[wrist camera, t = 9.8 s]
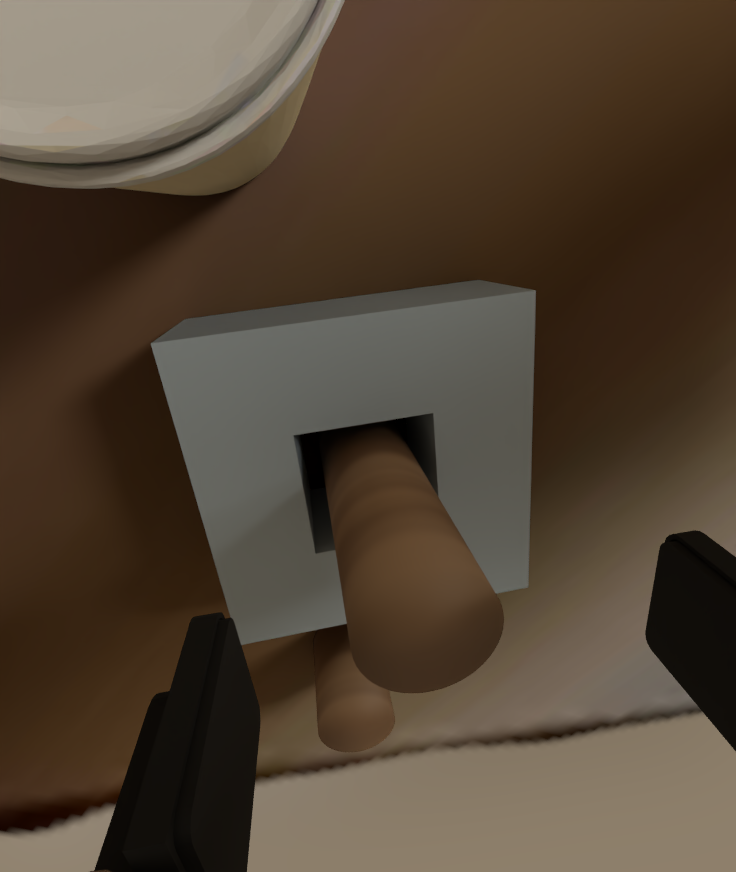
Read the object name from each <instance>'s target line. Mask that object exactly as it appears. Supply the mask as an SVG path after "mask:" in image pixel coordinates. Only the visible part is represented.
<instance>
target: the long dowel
mask: <svg viewBox="0 0 736 872" xmlns="http://www.w3.org/2000/svg"><path fill="white" fill-rule="evenodd" d="M318 440H319V447H320V454H321V460H322V467H323V473H324V480H325V486H326V493H327V499H328V506H329V512H330V518H331V525H332V531H333V538H334V544H335V551H336V557H337V564H338V570H339V577H340V583H341V590H342V596H343V603H344V609H345V616H346V622H347V628H348V635H349V641H350V648H351V653H352V657H353V660H354V662H355V664H356V666H357V668H358V669H359V671H360V672H361V673H362V674H363V675H364V676H365V677H366V678H367V679H368V680H369V681H371V682H372V683H374V684H376V685H378V686H379V687H382V688H384V689H387V690H391V691H395V692H401V693H423V692H429V691H434V690H438V689H442V688H445V687H447V686H450V685H452V684H455V683H457V682H459V681H461V680H462V679H464V678H466V677H467V676H469V675H470V674H472V673H473V672H474V671H476V670H477V669H478V668H479V667H480V666H481V665H483V663H484V662H485V661H486V660H487V659H488V658H489V657H490V655H491V654H492V653H493V651H494V650H495V648H496V646H497V644H498V642H499V640H500V637H501V634H502V630H503V623H504V616H503V609H502V605H501V603H500V601H499V598H498V597H497V595H496V593H495V592H494V590H493V588H492V586H491V585H490V583H489V581H488V580H487V578H486V576H485V575H484V573H483V571H482V570H481V568H480V566H479V565H478V563H477V561H476V560H475V558H474V556H473V554H472V553H471V551H470V549H469V548H468V546H467V544H466V543H465V541H464V539H463V538H462V536H461V534H460V533H459V531H458V529H457V528H456V526H455V524H454V522H453V521H452V519H451V517H450V516H449V514H448V512H447V511H446V509H445V507H444V506H443V504H442V502H441V501H440V499H439V497H438V496H437V494H436V492H435V490H434V489H433V487H432V485H431V484H430V482H429V480H428V479H427V477H426V475H425V474H424V472H423V470H422V469H421V467H420V465H419V464H418V462H417V460H416V458H415V457H414V455H413V453H412V452H411V450H410V448H409V447H408V445H407V443H406V442H405V440H404V438H403V437H402V435H401V433H400V432H399V430H398V428H397V426H396V425H395V423H394V421H393V420H387V421H381V422H374V423H368V424H362V425H356V426H349V427H343V428H337V429H331V430H325V431H319V432H318Z"/></svg>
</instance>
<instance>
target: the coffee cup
mask: <svg viewBox="0 0 736 872" xmlns="http://www.w3.org/2000/svg"><path fill="white" fill-rule="evenodd" d="M344 1H345V0H0V178H2V179H6V180H10V181H14V182H20V183H26V184H33V185H40V186H46V187H56V188H81V189H98V188H111V187H112V188H118V189H127V190H137V191H146V192H156V193H165V194H175V195H190V196H198V195H211V194H216V193H222V192H226V191H229V190H232V189H235V188H237V187H239V186H241V185H243V184H245V183H247V182H249V181H250V180H252V179H253V178H255V177H256V176H258V175H259V174H260V173H262V172H263V171H264V170H265V169H266V168H267V167H268V166H269V165H270V164H271V163H272V162H273V161H274V159H275V158H276V157H277V155H278V154H279V152H280V151H281V149H282V148H283V146H284V144H285V142H286V141H287V139H288V137H289V135H290V134H291V131H292V129H293V127H294V124H295V122H296V119H297V117H298V114H299V111H300V109H301V106H302V103H303V100H304V98H305V95H306V92H307V90H308V87H309V84H310V81H311V78H312V75H313V72H314V69H315V66H316V64H317V61H318V58H319V55H320V52H321V49H322V47H323V45H324V43H325V41H326V40H327V38H328V36H329V34H330V32H331V30H332V28H333V26H334V24H335V22H336V19H337V17H338V15H339V12H340V10H341V8H342V5H343V3H344Z"/></svg>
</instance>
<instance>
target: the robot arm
mask: <svg viewBox="0 0 736 872" xmlns="http://www.w3.org/2000/svg"><path fill="white" fill-rule="evenodd" d="M645 635H646V640H647V643H648V645H649V647H650V649H651V650H652V651H653V653H654V654H655V655H656V656H657V657H658V659H659V660H660V661H661V662H662V663H663V665H664V666H665V667H666V668H667V669H668V671H669V672H670V673H671V674H672V675H673V677H674V678H675V679H676V680H677V681H678V683H679V684H680V685H681V686H682V687H683V689H684V690H685V691H686V692H687V693H688V695H689V696H690V697H691V698H692V699H693V701H694V702H695V703H696V704H697V705H698V707H699V708H700V709H701V710H702V711H703V713H704V714H705V715H706V716H707V717H708V719H709V720H710V721H711V722H712V723H713V725H714V726H715V727H716V728H717V729H718V730H719V732H720V733H721V734H722V735H723V737H724V738H725V739H726V740H727V741H728V743H729V744H730V745H731V746H732V747H733V749H734V750H735V751H736V557H735V556H733V555H732V554H731V553H729V552H728V551H727V550H725V549H724V548H723V547H721V546H720V545H719V544H717V543H716V542H715V541H713V540H712V539H711V538H709V537H708V536H707V535H705V534H704V533H702V532H700V531H696V530H695V531H689V532H683V533H677V534H672V535H669V536H668V537H667V538H666V540H665V543H662V545H661V546H660V550H659V555H658V561H657V567H656V573H655V579H654V585H653V591H652V597H651V602H650V608H649V614H648V620H647V626H646V634H645ZM259 732H260V709H259V704H258V700H257V697H256V694H255V690H254V687H253V683H252V680H251V677H250V673H249V670H248V667H247V663H246V660H245V656H244V653H243V650H242V646H241V643H240V640H239V636H238V633H237V629H236V626H235V623H234V620H233V619H232V618H227V619H225V618H224V615H223V614H222V613H221V612H219V613H213V614H208V615H202V616H196V617H193V618H192V619H191V622H190V624H189V628H188V631H187V635H186V638H185V641H184V645H183V648H182V651H181V655H180V658H179V661H178V665H177V668H176V672H175V675H174V678H173V682H172V685H171V688H170V691H168V692H162V693H158V694H156V695H155V696H154V697H153V699H152V701H151V703H150V705H149V707H148V710H147V713H146V716H145V719H144V722H143V725H142V728H141V731H140V735H139V738H138V741H137V744H136V747H135V750H134V753H133V756H132V759H131V762H130V765H129V768H128V771H127V774H126V777H125V780H124V783H123V786H122V789H121V792H120V795H119V798H118V801H117V804H116V807H115V810H114V813H113V816H112V819H111V822H110V825H109V828H108V831H107V834H106V837H105V840H104V843H103V846H102V849H101V852H100V856H99V858H98V861H97V864H96V867H95V870H94V871H90V872H247V863H248V851H249V840H250V830H251V819H252V808H253V798H254V787H255V776H256V765H257V754H258V743H259Z"/></svg>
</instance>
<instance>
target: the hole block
mask: <svg viewBox="0 0 736 872" xmlns="http://www.w3.org/2000/svg"><path fill="white" fill-rule="evenodd" d="M535 308H536V290H531V289H526V288H520V287H515V286H510V285H504V284H499V283H494V282H488V281H483V280H473V281H466V282H458V283H451V284H443V285H436V286H429V287H421V288H414V289H406V290H399V291H391V292H384V293H376V294H369V295H361V296H354V297H346V298H339V299H331V300H324V301H316V302H309V303H302V304H294V305H287V306H279V307H272V308H264V309H257V310H249V311H242V312H234V313H227V314H219V315H212V316H204V317H197V318H189V319H185V320H183V321H182V322H180V323H179V324H177V325H176V326H175V327H173V328H172V329H170V330H169V331H168V332H166V333H165V334H163V335H162V336H160V337H159V338H158V339H156V340H155V341H153V342H152V343H151V347H152V350H153V354H154V357H155V360H156V364H157V367H158V371H159V374H160V377H161V381H162V384H163V388H164V391H165V395H166V398H167V401H168V405H169V408H170V412H171V415H172V418H173V422H174V425H175V429H176V432H177V436H178V439H179V442H180V446H181V449H182V453H183V456H184V460H185V463H186V466H187V470H188V473H189V477H190V480H191V483H192V487H193V490H194V494H195V497H196V501H197V504H198V507H199V511H200V514H201V518H202V521H203V525H204V528H205V531H206V535H207V538H208V542H209V545H210V548H211V552H212V555H213V559H214V562H215V566H216V569H217V572H218V576H219V579H220V583H221V586H222V589H223V593H224V596H225V600H226V603H227V607H228V610H229V613H230V617H231V618H232V619H233V620H234V623H235V626H236V629H237V633H238V636H239V640H240V643H241V645H244V644H248V643H253V642H258V641H263V640H268V639H273V638H278V637H283V636H288V635H293V634H298V633H303V632H308V631H313V630H318V629H323V628H328V627H333V626H338V625H343V624H347V622H346V616H345V609H344V603H343V596H342V590H341V583H340V577H339V570H338V564H337V557H336V551H335V544H334V538H333V531H332V525H331V518H330V512H329V506H328V499H327V493H326V487H324V488H318V489H312V490H310V485H309V480H308V474H307V469H306V463H305V458H304V452H303V447H302V441H301V436H300V434H306V433H312V432H318V431H325V430H331V429H337V428H343V427H349V426H356V425H362V424H368V423H374V422H381V421H387V420H393V419H399V418H405V419H406V431H407V442H408V447H409V448H410V450H411V452H412V453H413V455H414V457H415V458H416V460H417V462H418V464H419V465H420V467H421V469H422V470H423V472H424V474H425V475H426V477H427V479H428V480H429V482H430V484H431V485H432V487H433V489H434V490H435V492H436V494H437V496H438V497H439V499H440V501H441V502H442V504H443V506H444V507H445V509H446V511H447V512H448V514H449V516H450V517H451V519H452V521H453V522H454V524H455V526H456V528H457V529H458V531H459V533H460V534H461V536H462V538H463V539H464V541H465V543H466V544H467V546H468V548H469V549H470V551H471V553H472V554H473V556H474V558H475V560H476V561H477V563H478V565H479V566H480V568H481V570H482V571H483V573H484V575H485V576H486V578H487V580H488V581H489V583H490V585H491V586H492V588H493V590H494V592H495V593H496V594H497V593H502V592H507V591H512V590H517V589H522V588H527V587H528V580H529V541H530V502H531V463H532V424H533V385H534V347H535Z"/></svg>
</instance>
